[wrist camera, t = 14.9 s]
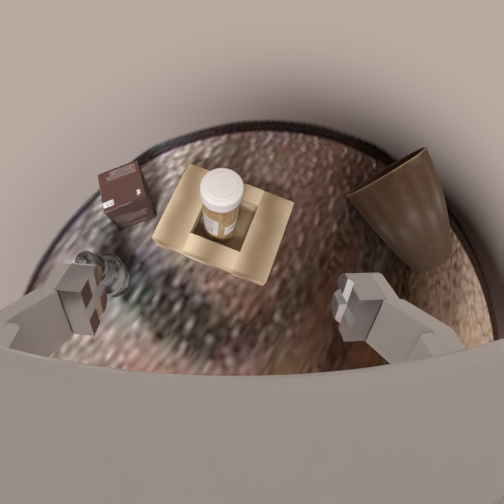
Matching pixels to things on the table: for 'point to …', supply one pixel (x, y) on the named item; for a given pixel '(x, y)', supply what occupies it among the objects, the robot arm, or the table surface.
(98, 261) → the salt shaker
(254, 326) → the table surface
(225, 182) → the sprinkles bottle
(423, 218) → the plant pot
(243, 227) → the holder
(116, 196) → the box
